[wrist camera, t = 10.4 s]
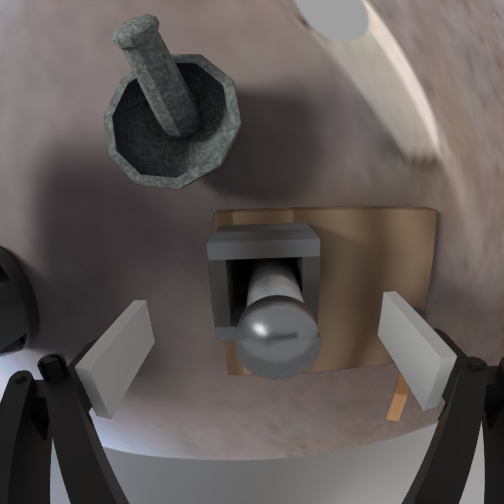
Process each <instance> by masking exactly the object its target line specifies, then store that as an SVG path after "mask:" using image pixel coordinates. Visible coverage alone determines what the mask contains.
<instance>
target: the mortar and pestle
mask: <svg viewBox="0 0 504 504" xmlns="http://www.w3.org/2000/svg"><path fill="white" fill-rule="evenodd" d="M159 24H160V23H159V21H158V19H157V17H155V16H152V15H149V14H147V15H142V16H137V17H135V18H133V19H131V20H129V21H127V22H125V23H124V24H122V25H121V26H120V27H119V28H118V29H117V30H116V31H115V33H114V36H113V42H114V44H115V46H117V47H119V48H120V49H123V51H124V53H125V55H126V57H127V59H128V61H129V63H130V66H131V68H132V70H133V71H132V72H131V73H129V74H128V75H126V76H125V77H124V78H122V80H121V82H120V83H119V85H118V87H117V89H116V91H115V94H114V96H113V98H112V100H111V102H110V104H109V106H108V108H107V111H106V113H105V115H104V124H105V132H106V140H107V147H108V154H109V157H110V158H111V159H112V160H113V161H114V162H115V163H116V164H117V165H118V166H119V167H120V168H121V169H122V170H123V171H124V172H125V173H126V174H127V175H128V176H129V177H130V178H131V179H132V180H133V181H134V182H135V183H136V184H138V185H148V186H158V187H168V188H177V189H180V188H184V187H186V186H188V185H189V184H191V183H193V182H195V181H196V180H198V179H200V178H202V177H203V176H205V175H207V174H209V173H210V172H212V171H214V170H216V169H218V168H219V167H221V166H223V164H224V162H225V160H226V157H227V155H228V153H229V151H230V149H231V147H232V145H233V143H234V142H235V140H236V138H237V136H238V134H239V132H240V130H241V128H242V122H241V116H240V111H239V105H238V100H237V94H236V89H235V84H234V81H233V80H232V79H231V78H230V77H229V76H227V75H226V74H225V73H224V72H223V71H221V70H220V69H219V68H217V67H216V66H215V65H214V64H212V63H211V62H210V61H209V60H207V59H206V58H205V57H203V56H202V55H200V54H170V52H169V50H168V49H167V47H166V45H165V43H164V41H163V39H162V37H161V36H160V34H159V32H158V28H159Z"/></svg>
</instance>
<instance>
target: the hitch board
mask: <svg viewBox="0 0 504 504" xmlns="http://www.w3.org/2000/svg"><path fill="white" fill-rule="evenodd" d="M436 218H437V210H435V209H431V208H428V207H385V206H349V207H292V208H263V209H239V210H220V211H216V212H215V213H213V220H214V234H213V235H212V237H211V238H210V239H209V241H208V242H207V255H208V266H209V276H210V286H211V296H212V305H213V314H214V323H215V331H216V339H217V341H224V342H225V351H226V359H227V368H228V375H256V374H254V373H252V372H250V371H249V370H248V369H246V368H245V367H244V366H243V365H242V363H241V362H240V360H239V358H238V356H237V353H236V349H235V342H236V335H237V329H238V323H239V320H240V317H241V315H242V313H243V312H244V310H245V309H246V305H247V296H248V288H249V284H240V283H239V268H238V259H257V258H285V257H291V262H292V265H293V269H294V272H295V275H296V278H297V282H298V285H299V288H300V291H301V295H302V298H303V301H304V304H305V305H306V306H307V307H308V308H309V309H310V310H311V312H312V313H313V315H314V318H315V321H316V324H317V327H318V330H319V333H320V337H321V347H320V351H319V354H318V356H317V358H316V359H315V361H314V362H313V363H312V365H311V366H310V367H308V368H307V369H306V370H305V371H303V372H301V373H306V372H319V371H331V370H341V369H350V368H358V367H366V366H373V365H380V364H387V363H393V362H394V360H393V359H392V357H391V356H390V354H389V352H388V351H387V349H386V348H385V346H384V344H383V343H382V341H381V340H380V338H379V336H378V330H379V323H380V317H381V310H382V302H383V294H384V292H391V291H396V292H397V293H398V294H399V295H400V296H401V297H402V298H403V299H404V300H405V301H406V302H407V303H408V304H409V305H410V306H411V307H412V308H413V309H414V310H415V311H416V312H417V313H418V314H419V315H420V316H421V317H422V318H423V319H424V320H426V316H427V315H426V314H425V308H426V302H427V297H428V291H429V284H430V278H431V271H432V263H433V254H434V244H435V233H436Z"/></svg>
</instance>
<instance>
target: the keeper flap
mask: <svg viewBox="0 0 504 504" xmlns="http://www.w3.org/2000/svg"><path fill="white" fill-rule="evenodd" d="M408 392H409V385H408V384H407V382H406V380H405V379H404V377H403V375H402V374H401V372H400V370H399V374H398V378H397V382H396V386H395V390H394V394H393V397H392V401H391V405H390V408H389V411H388V415H387V418H386V420H392V421H397V422H398V421H399V418H400V416H401V413H402V411H403V408H404V405H405V402H406V399H407V397H408Z"/></svg>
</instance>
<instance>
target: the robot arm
mask: <svg viewBox="0 0 504 504" xmlns="http://www.w3.org/2000/svg"><path fill="white" fill-rule="evenodd" d="M38 327H39V318H38V310H37V305H36V301H35V298H34V295H33V292H32V289H31V287H30V284H29V282H28V280H27V278H26V276H25V274H24V272H23V271H22V269H21V267H20V266H19V264H18V263H17V262H16V260H15V259H14V258H13V257H12V256H11V255H10V254H9V253H8V252H7V251H6V250H5V249H3V248H2V247H0V357H2V356H5V355H8V354H12V353H15V352H18V351H21V350H23V349H24V348H26V347H27V346H28V345H29V344H30V343H31V342H33V340H34V339H35V338H36V335H37V332H38ZM378 336H379V338H380V340H381V341H382V343H383V344H384V346H385V348H386V349H387V351H388V352H389V354H390V356H391V357H392V359H393V360H394V362H395V364H396V365H397V367H398V369H399V370H400V372H401V374H402V375H403V377H404V379H405V380H406V382H407V384H408V385H409V387H410V389H411V391H412V392H413V394H414V396H415V398H416V399H417V401H418V403H419V404H420V406H421V408H422V410H423V411H425V410H429V409H432V408H436V407H438V405H439V402H440V400H441V398H442V397H443V399H444V400H445V402H446V403H445V405H444V407H443V409H442V412H441V414H440V416H439V418H438V420H439V422H438V425H437V427H436V430H435V433H434V435H433V438H432V441H431V443H430V446H429V448H428V450H427V453H426V455H425V457H424V460H423V462H422V464H421V466H420V469H419V471H418V473H417V475H416V477H415V479H414V481H413V483H412V485H411V487H410V489H409V491H408V493H407V495H406V497H405V498H404V500H403V502H402V504H459V502H460V499H461V496H462V493H463V490H464V487H465V484H466V481H467V478H468V475H469V471H470V468H471V464H472V461H473V457H474V453H475V448H476V445H477V440H478V436H479V431H480V425H481V420H482V428H483V439H484V458H485V492H484V504H504V357H502V359H501V361H500V363H499V366H487V364H486V363H485V361H483V360H482V359H480V358H477V357H467V356H466V355H465V354H464V353H463V351H462V350H461V349H460V348H459V347H458V346H457V345H456V344H454V342H453V341H452V340H450V338H449V337H448V336H447V335H446V334H445V333H444V332H442V331H441V330H439V329H437V328H436V329H432V328H431V327H430V326H429V325H428V324H427V323H426V322H425V320H424V319H423V318H422V317H421V316H420V315H419V314H418V313H417V312H416V311H415V310H414V309H413V308H412V307H411V306H410V305H409V304H408V303H407V302H406V301H405V300H404V299H403V298H402V297H401V296H400V295H399V294H398V293H397V292H396V291H391V292H384V294H383V302H382V310H381V317H380V323H379V330H378ZM154 343H155V340H154V335H153V331H152V326H151V322H150V317H149V312H148V307H147V302H146V300H134V301H133V302H132V303H131V304H130V305H129V306H128V307H127V308H126V310H125V311H124V312H123V313H122V314H121V315H120V316H119V317H118V318H117V319H116V321H115V322H114V323H113V324H112V325H111V326H110V327H109V328H108V329H107V331H106V332H105V333H104V334H103V335H102V336H101V337H100V338H99V340H94V341H92V342H91V343H89V344H87V345H86V347H85V348H84V349H83V350H82V352H80V353H79V354H78V356H77V357H76V358H75V359H74V360H73V361H72V362H71V363H70V365H69V366H67V364H66V361H65V359H64V357H63V355H61V354H58V353H53V354H48V355H46V356H44V357H42V358H41V359H40V360H39V361H38V364H37V366H38V368H39V370H40V373H41V375H42V377H43V379H44V380H34V378H33V376H32V374H31V372H29V371H26V370H22V371H18V372H16V373H14V374H13V375H12V376H11V377H10V379H9V381H8V384H7V386H6V389H5V391H4V394H3V397H2V400H1V403H0V504H50V467H51V450H52V438H53V441H54V446H55V450H56V454H57V458H58V462H59V466H60V470H61V474H62V477H63V481H64V484H65V487H66V490H67V494H68V497H69V500H70V503H71V504H129V502H128V500H127V498H126V496H125V494H124V493H123V491H122V489H121V487H120V485H119V483H118V481H117V479H116V476H115V474H114V472H113V470H112V468H111V466H110V464H109V461H108V459H107V457H106V455H105V453H104V450H103V447H102V445H101V442H100V440H99V437H98V435H97V432H96V429H95V427H94V424H93V421H92V418H91V416H90V414H89V411H90V409H91V408H92V407H93V409H94V411H95V413H96V415H97V416H99V417H104V418H108V419H111V418H112V417H113V415H114V413H115V411H116V409H117V407H118V406H119V404H120V402H121V400H122V399H123V397H124V395H125V393H126V391H127V390H128V388H129V386H130V384H131V383H132V381H133V379H134V377H135V376H136V374H137V372H138V370H139V369H140V367H141V365H142V363H143V362H144V360H145V358H146V357H147V355H148V353H149V351H150V350H151V348H152V346H153V345H154Z"/></svg>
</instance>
